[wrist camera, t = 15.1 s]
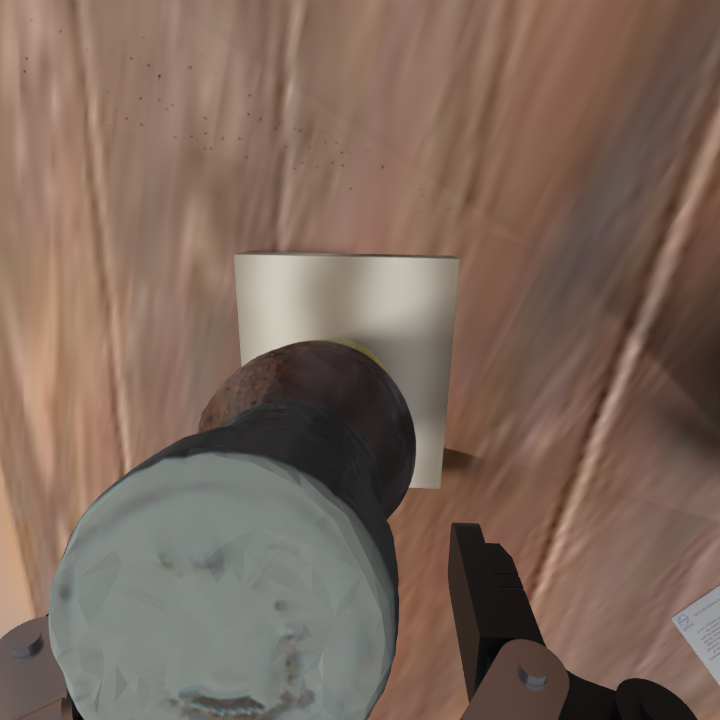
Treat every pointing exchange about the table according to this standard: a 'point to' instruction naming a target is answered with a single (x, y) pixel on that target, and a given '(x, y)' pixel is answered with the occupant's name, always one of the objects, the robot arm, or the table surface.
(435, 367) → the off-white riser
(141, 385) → the table surface
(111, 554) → the sauce bottle
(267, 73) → the table surface
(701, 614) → the light bulb box
